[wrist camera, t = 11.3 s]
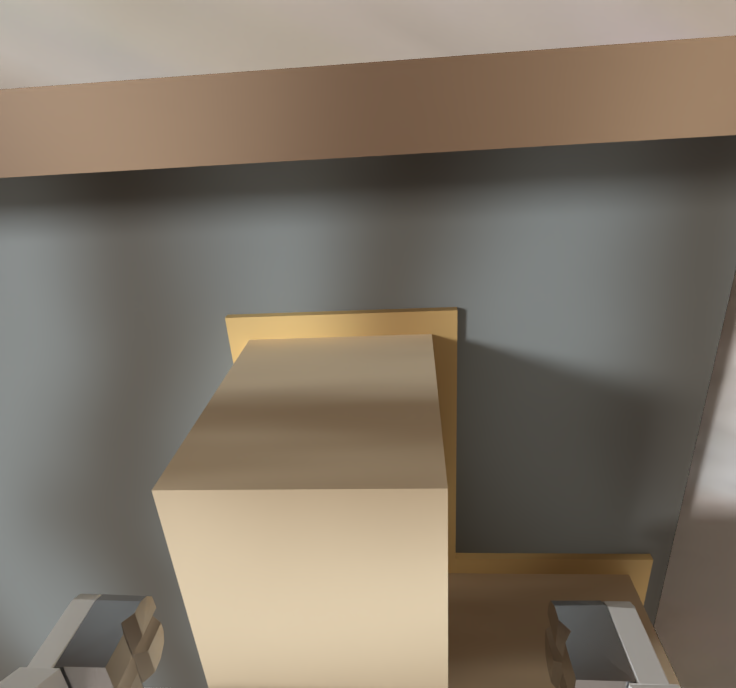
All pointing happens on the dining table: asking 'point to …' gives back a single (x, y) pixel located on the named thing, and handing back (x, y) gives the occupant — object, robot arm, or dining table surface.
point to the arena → (365, 296)
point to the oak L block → (344, 532)
